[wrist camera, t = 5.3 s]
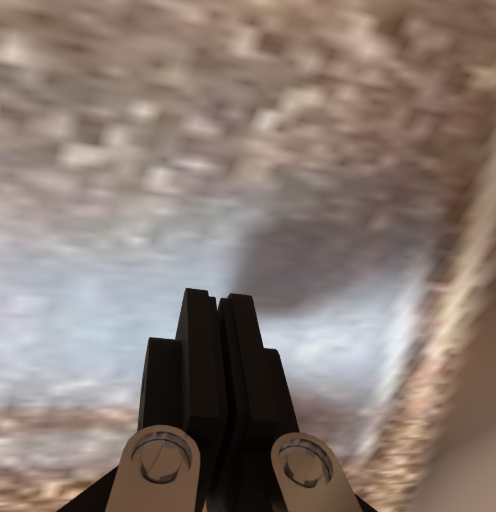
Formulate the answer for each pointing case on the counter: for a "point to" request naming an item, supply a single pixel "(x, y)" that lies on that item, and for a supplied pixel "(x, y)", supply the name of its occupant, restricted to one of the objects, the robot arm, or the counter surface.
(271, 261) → the counter surface
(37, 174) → the counter surface
